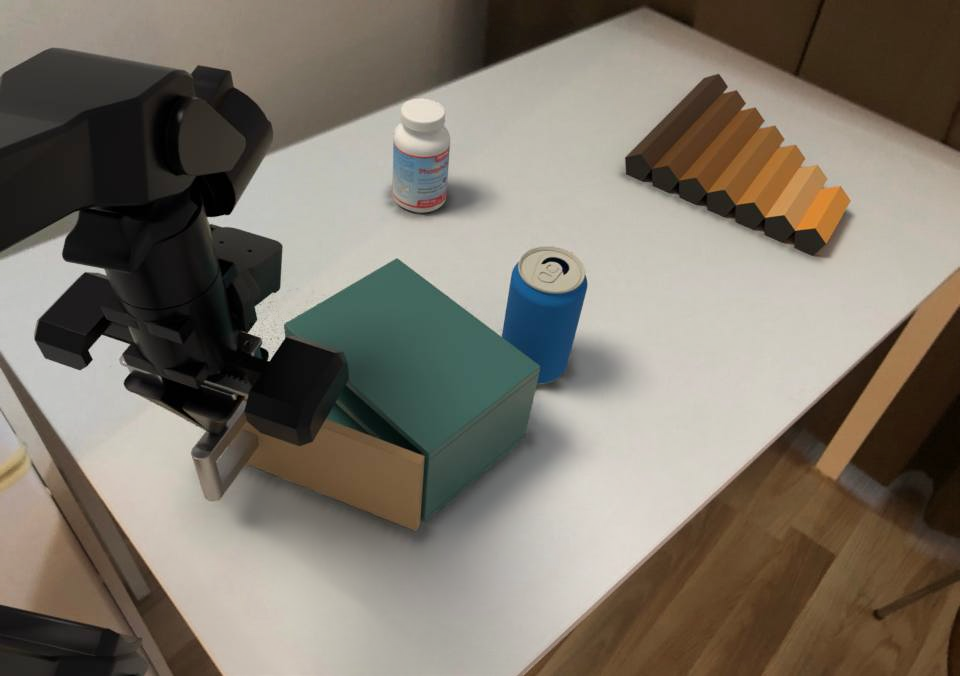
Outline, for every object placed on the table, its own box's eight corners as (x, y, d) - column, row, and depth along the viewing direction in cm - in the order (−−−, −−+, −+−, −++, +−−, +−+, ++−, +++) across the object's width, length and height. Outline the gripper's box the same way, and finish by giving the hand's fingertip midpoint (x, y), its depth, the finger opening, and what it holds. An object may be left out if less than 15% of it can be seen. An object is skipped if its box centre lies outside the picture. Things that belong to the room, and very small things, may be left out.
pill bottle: (425, 222, 87) (430, 133, 79) (381, 200, 89) (381, 111, 81) (456, 195, 91) (463, 108, 83) (413, 175, 93) (416, 88, 85)
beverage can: (578, 357, 76) (603, 263, 67) (545, 400, 72) (567, 307, 63) (520, 327, 78) (537, 232, 69) (485, 367, 74) (498, 272, 65)
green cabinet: (424, 523, 62) (429, 453, 55) (293, 399, 69) (283, 323, 62) (525, 438, 69) (541, 366, 62) (395, 332, 76) (397, 257, 69)
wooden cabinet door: (384, 596, 58) (384, 532, 51) (187, 514, 61) (163, 444, 54) (420, 523, 62) (425, 455, 55) (235, 450, 65) (217, 377, 58)
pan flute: (699, 91, 112) (621, 171, 97) (707, 69, 110) (627, 148, 95) (875, 159, 104) (818, 258, 89) (886, 136, 102) (831, 234, 87)
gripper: (381, 226, 47) (387, 383, 59) (109, 147, 50) (166, 311, 62) (292, 362, 40) (319, 509, 52) (-18, 261, 43) (75, 421, 55)
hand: (218, 428), depth 56 cm, fingers closed, pressing on wooden cabinet door
